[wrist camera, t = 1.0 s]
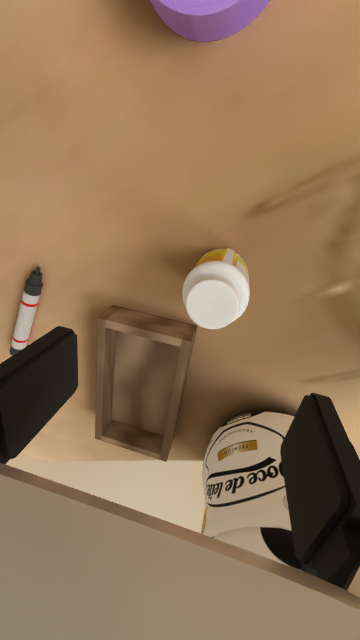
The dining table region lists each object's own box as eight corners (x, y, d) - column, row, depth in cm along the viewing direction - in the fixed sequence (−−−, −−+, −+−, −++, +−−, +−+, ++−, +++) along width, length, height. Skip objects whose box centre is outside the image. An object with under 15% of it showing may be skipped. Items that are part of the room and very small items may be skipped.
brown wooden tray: (197, 326, 31) (190, 341, 28) (173, 438, 40) (166, 461, 36) (113, 305, 33) (97, 317, 29) (108, 418, 42) (95, 438, 38)
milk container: (233, 379, 33) (222, 541, 17) (366, 430, 32) (488, 658, 16) (193, 460, 41) (160, 624, 25) (298, 504, 40) (335, 707, 24)
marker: (27, 351, 40) (17, 358, 38) (16, 345, 40) (6, 352, 38) (50, 268, 33) (39, 272, 31) (37, 260, 33) (25, 263, 31)
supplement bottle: (189, 283, 29) (164, 319, 20) (210, 237, 27) (192, 254, 18) (233, 305, 29) (227, 350, 20) (258, 261, 27) (265, 289, 18)
